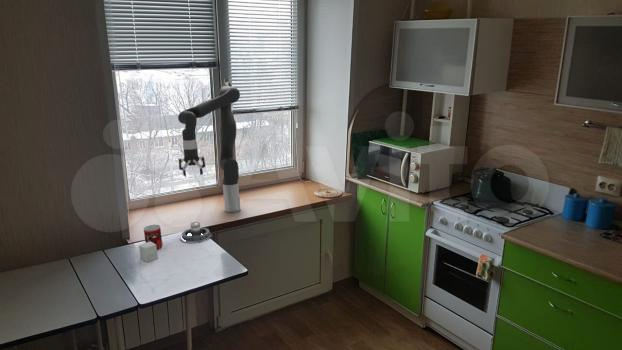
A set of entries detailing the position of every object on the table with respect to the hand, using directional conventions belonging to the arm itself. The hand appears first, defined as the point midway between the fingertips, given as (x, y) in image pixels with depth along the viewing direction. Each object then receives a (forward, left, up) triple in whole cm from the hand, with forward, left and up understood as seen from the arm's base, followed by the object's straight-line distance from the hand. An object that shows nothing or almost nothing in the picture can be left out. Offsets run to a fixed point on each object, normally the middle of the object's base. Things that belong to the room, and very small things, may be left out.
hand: (193, 175), depth 262 cm
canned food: (+23, +30, -28) cm, 47 cm away
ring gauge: (+2, +23, -28) cm, 36 cm away
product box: (+25, +43, -28) cm, 57 cm away
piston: (+2, +23, -27) cm, 36 cm away
